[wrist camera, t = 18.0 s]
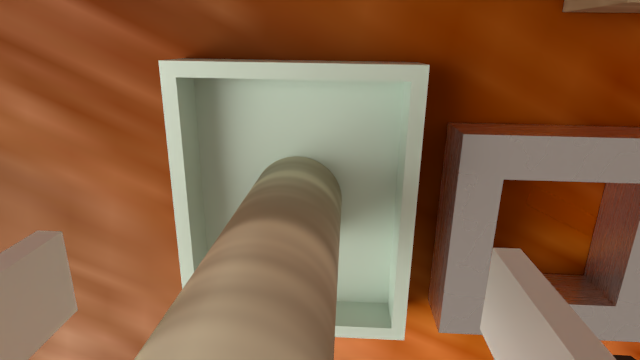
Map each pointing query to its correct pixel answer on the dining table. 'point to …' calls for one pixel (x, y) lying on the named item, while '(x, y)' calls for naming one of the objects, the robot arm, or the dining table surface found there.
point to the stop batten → (602, 6)
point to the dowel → (264, 276)
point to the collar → (541, 165)
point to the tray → (311, 142)
